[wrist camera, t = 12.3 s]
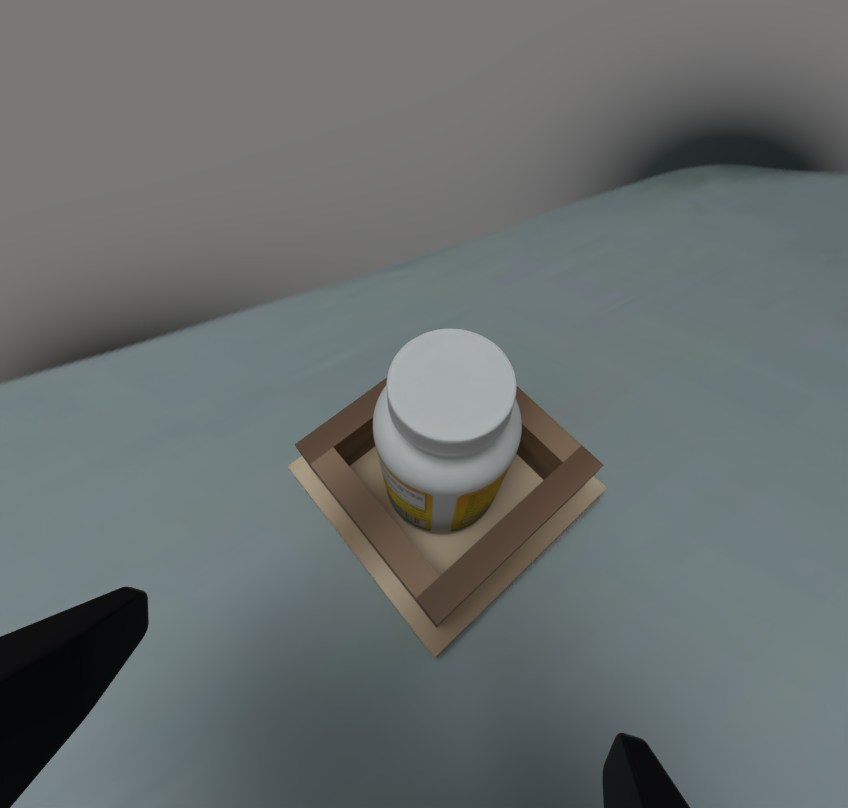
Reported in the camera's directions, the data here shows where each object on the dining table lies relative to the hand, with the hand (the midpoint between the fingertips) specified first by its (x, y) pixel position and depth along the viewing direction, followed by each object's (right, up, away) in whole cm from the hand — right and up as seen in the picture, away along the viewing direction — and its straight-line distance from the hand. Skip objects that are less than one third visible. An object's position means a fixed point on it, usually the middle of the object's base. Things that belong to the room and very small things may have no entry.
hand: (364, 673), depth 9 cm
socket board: (+2, +1, +15) cm, 15 cm away
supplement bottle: (+2, +1, +14) cm, 14 cm away
